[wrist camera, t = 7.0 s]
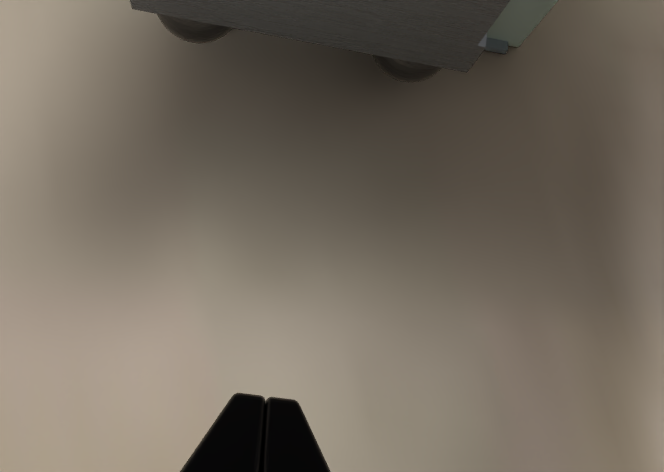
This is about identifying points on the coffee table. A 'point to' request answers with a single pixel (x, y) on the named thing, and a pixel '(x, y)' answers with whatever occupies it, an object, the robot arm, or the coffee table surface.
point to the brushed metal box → (348, 27)
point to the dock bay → (516, 23)
